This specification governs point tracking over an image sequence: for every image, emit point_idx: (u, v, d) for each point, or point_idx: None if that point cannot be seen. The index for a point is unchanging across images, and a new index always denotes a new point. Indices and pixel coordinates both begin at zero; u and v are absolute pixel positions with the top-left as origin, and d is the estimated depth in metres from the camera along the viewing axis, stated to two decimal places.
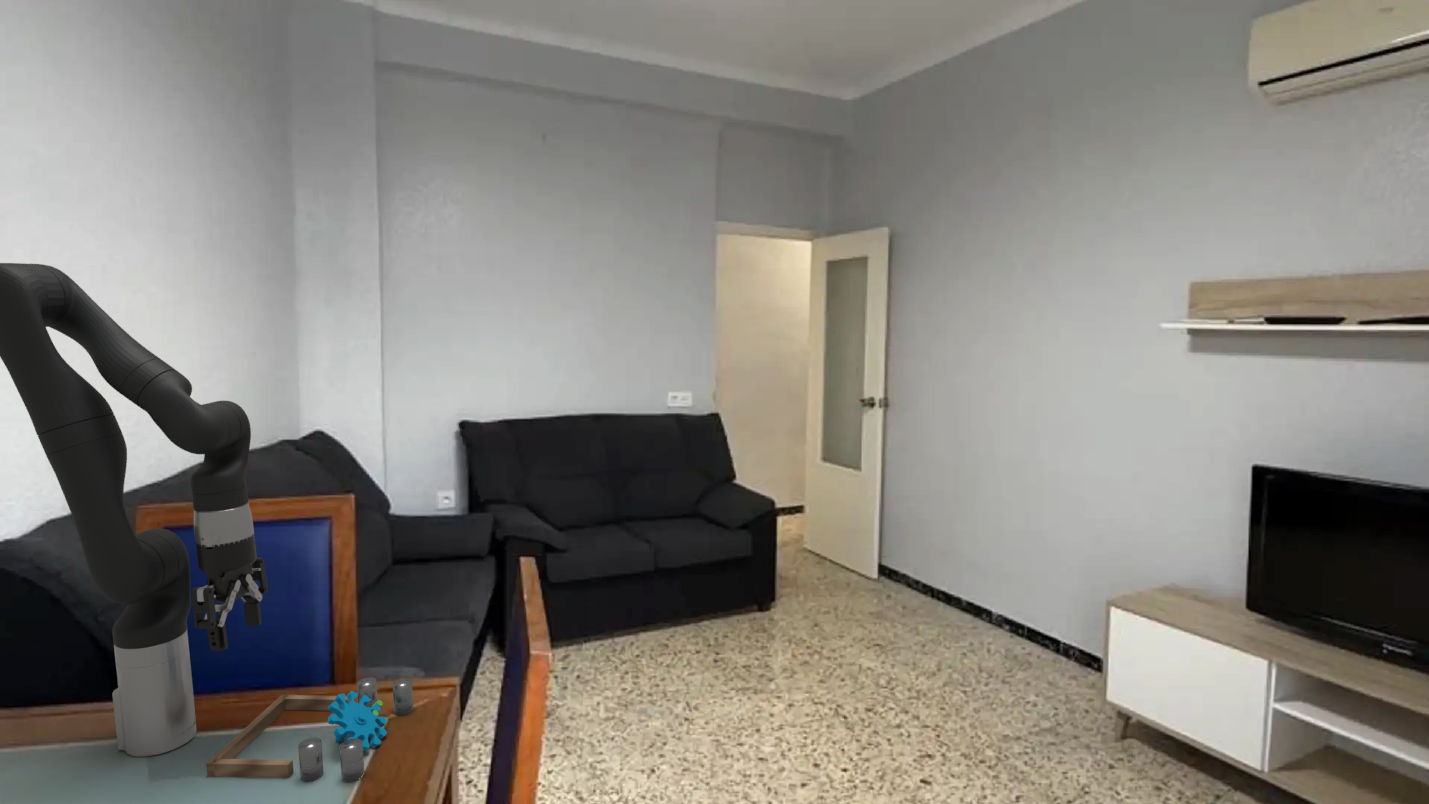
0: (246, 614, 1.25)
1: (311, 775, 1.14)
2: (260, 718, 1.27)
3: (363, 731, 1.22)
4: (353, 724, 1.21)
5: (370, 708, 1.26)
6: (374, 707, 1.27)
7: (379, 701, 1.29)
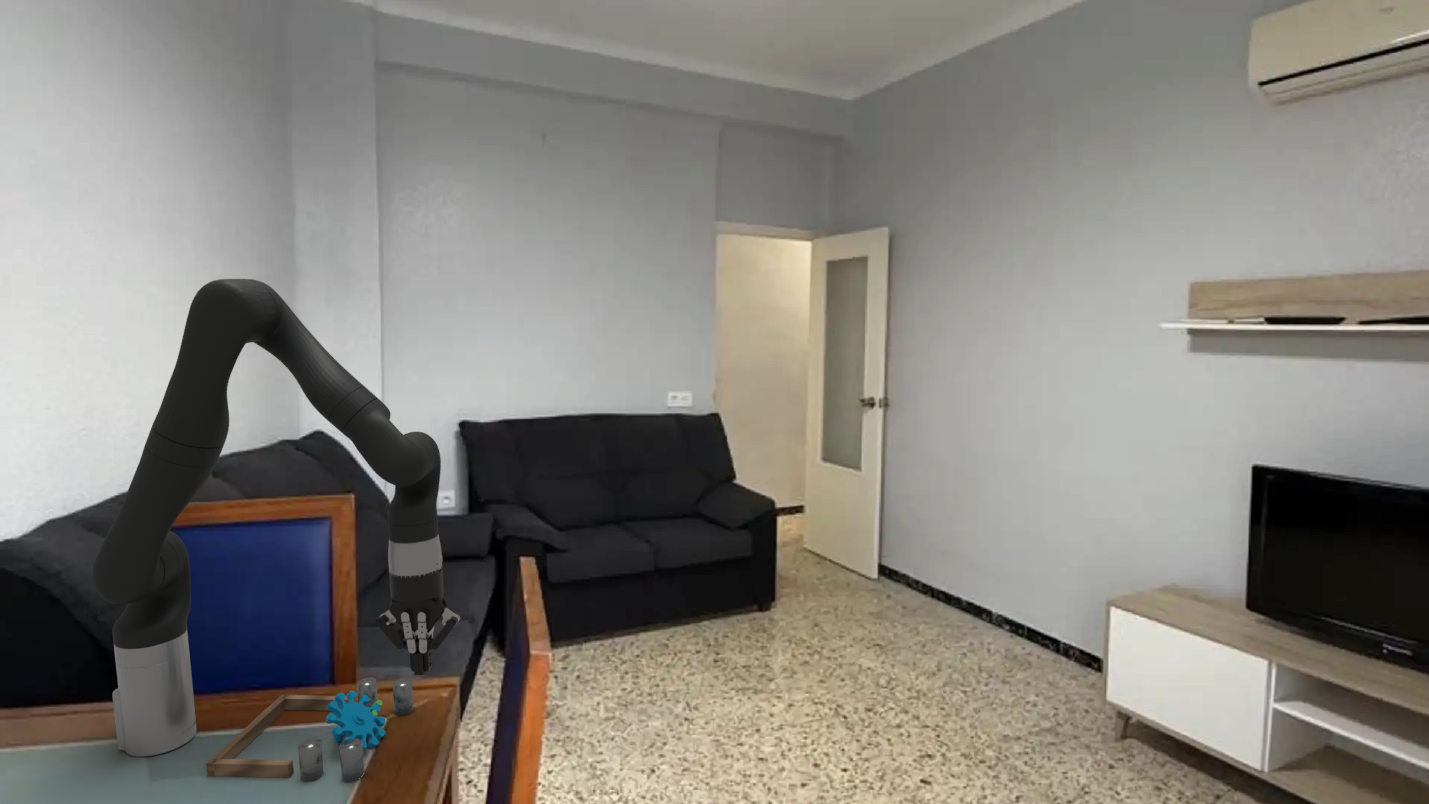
0: (418, 663, 1.21)
1: (311, 775, 1.14)
2: (260, 718, 1.27)
3: (361, 731, 1.22)
4: (351, 724, 1.21)
5: (369, 708, 1.26)
6: (373, 707, 1.27)
7: (379, 701, 1.29)
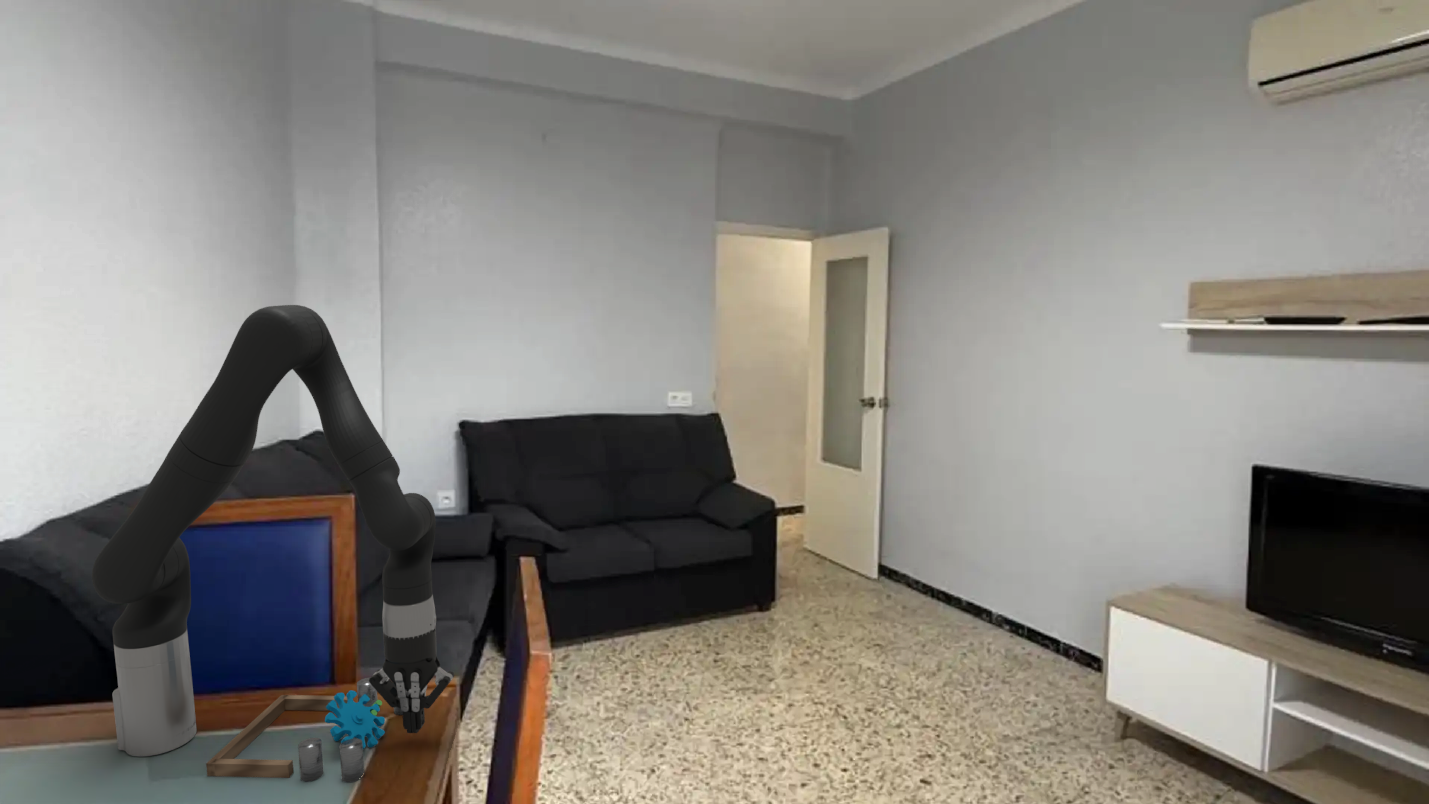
0: (411, 721, 1.23)
1: (311, 775, 1.14)
2: (260, 718, 1.27)
3: (360, 731, 1.22)
4: (350, 723, 1.22)
5: (369, 708, 1.26)
6: (373, 707, 1.27)
7: (379, 701, 1.29)
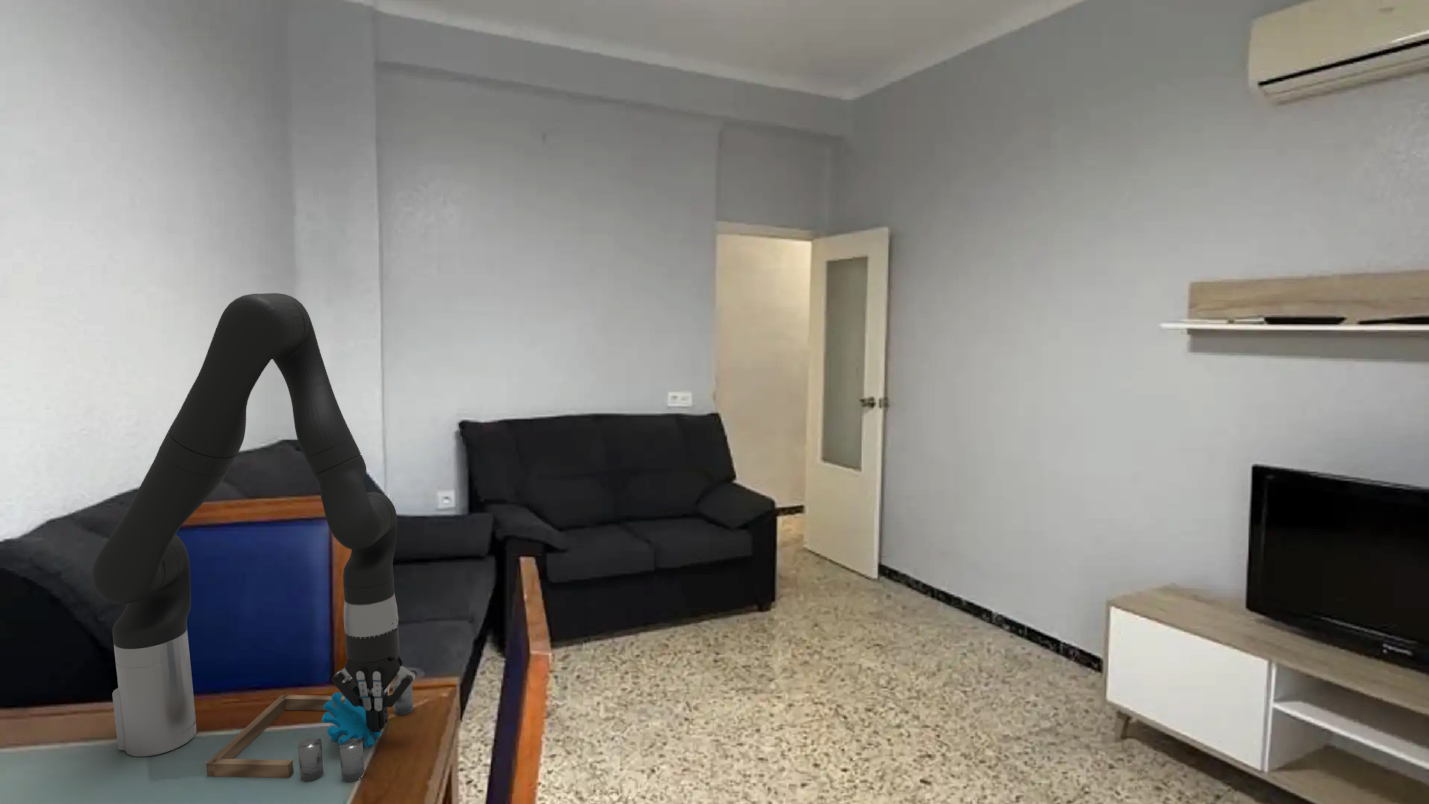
0: (374, 720, 1.23)
1: (311, 775, 1.14)
2: (260, 718, 1.27)
3: (357, 730, 1.22)
4: (347, 723, 1.22)
5: None
6: None
7: None
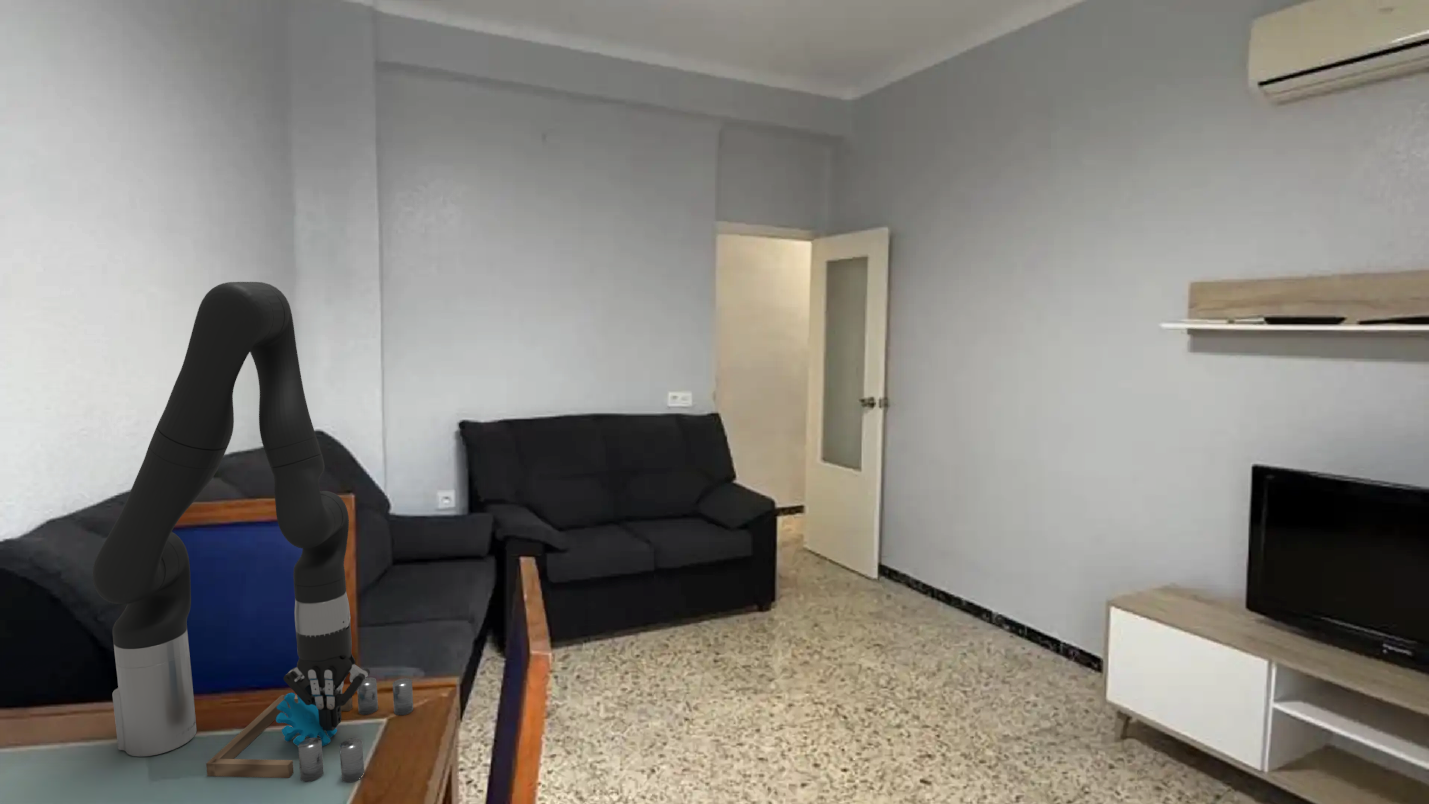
0: (327, 719, 1.23)
1: (311, 775, 1.14)
2: (260, 718, 1.27)
3: (312, 729, 1.22)
4: (302, 723, 1.22)
5: None
6: None
7: None
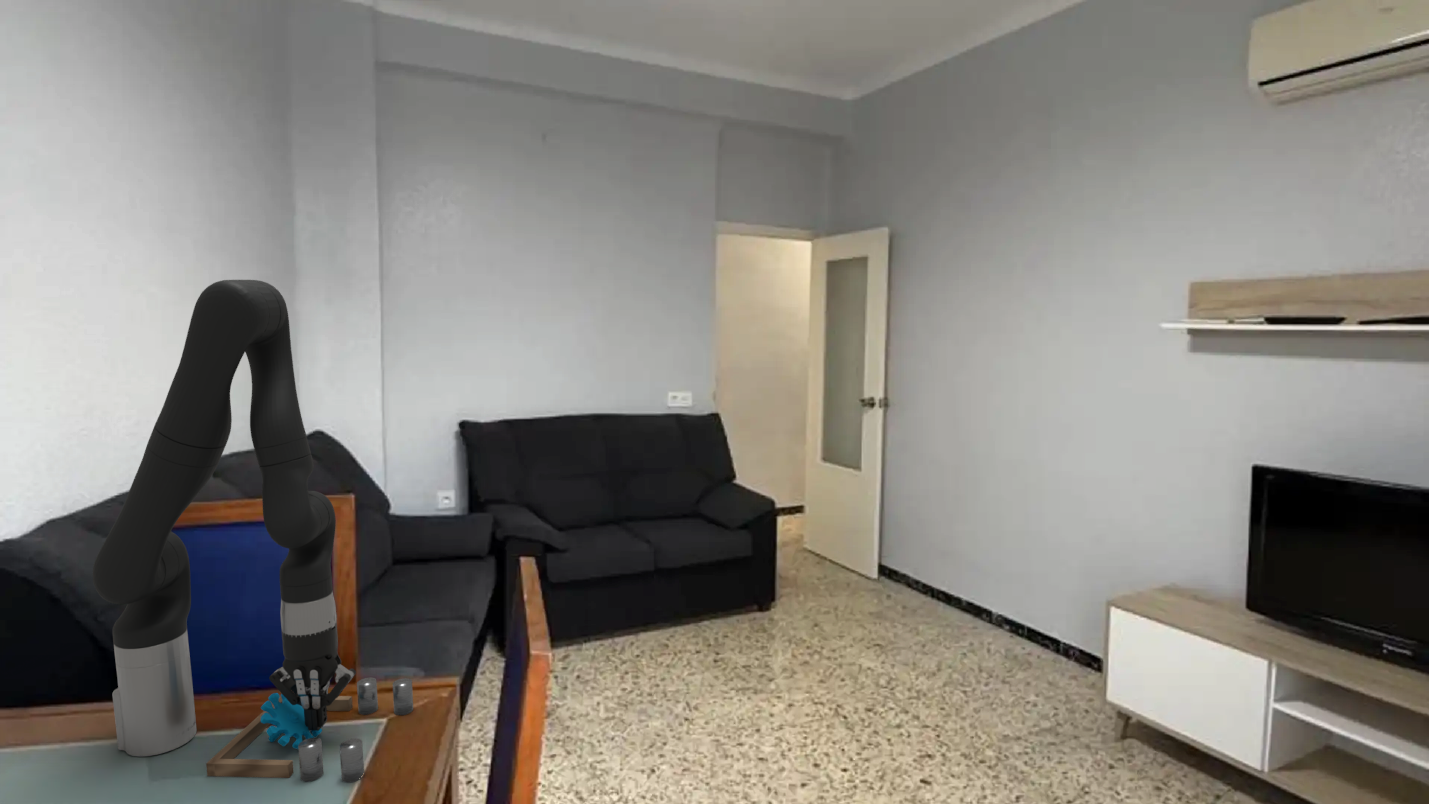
0: (312, 719, 1.23)
1: (311, 775, 1.14)
2: (260, 718, 1.27)
3: (297, 729, 1.22)
4: (287, 723, 1.22)
5: None
6: None
7: None
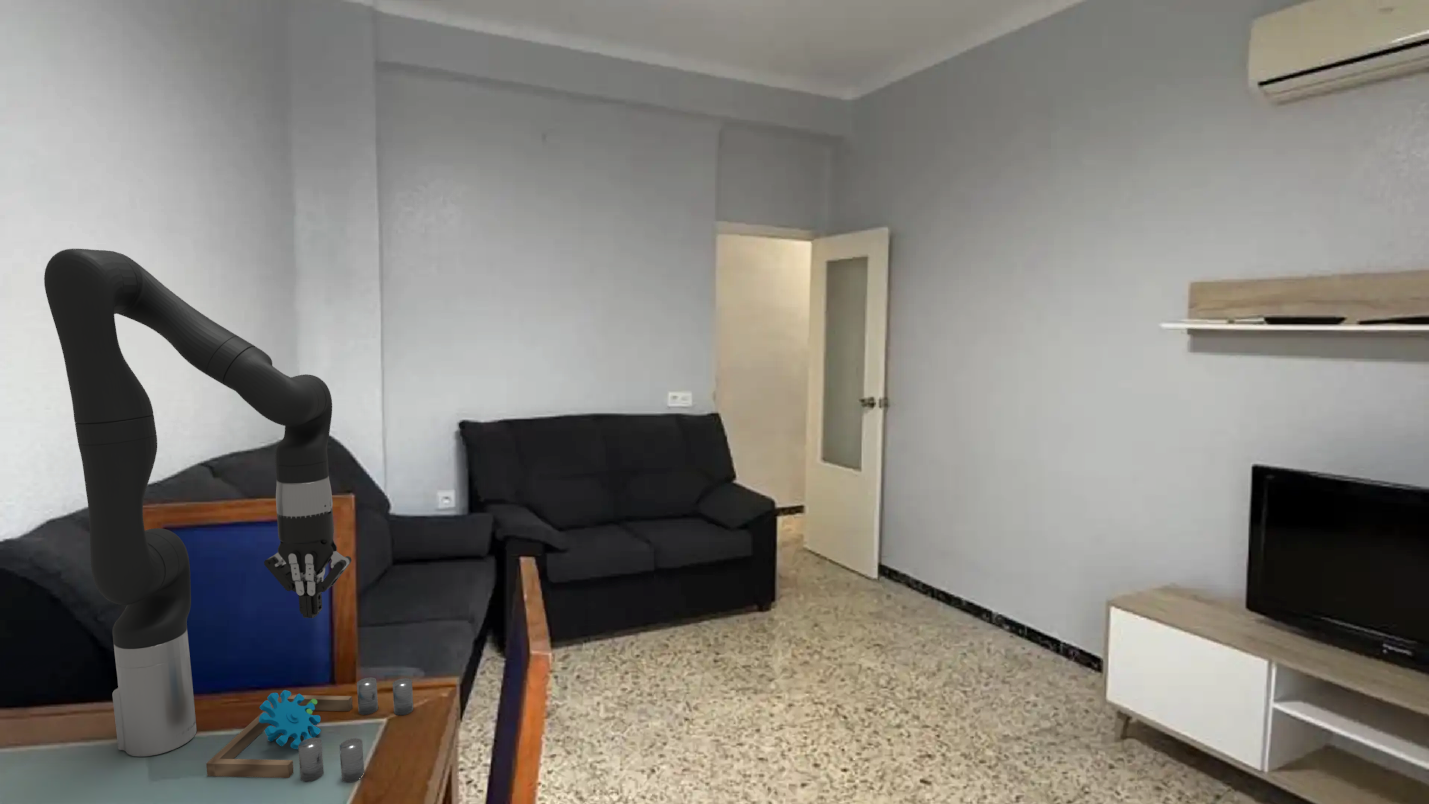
0: (307, 605, 1.22)
1: (311, 775, 1.14)
2: None
3: (295, 729, 1.22)
4: (285, 723, 1.22)
5: (304, 707, 1.26)
6: (308, 706, 1.27)
7: (314, 700, 1.29)
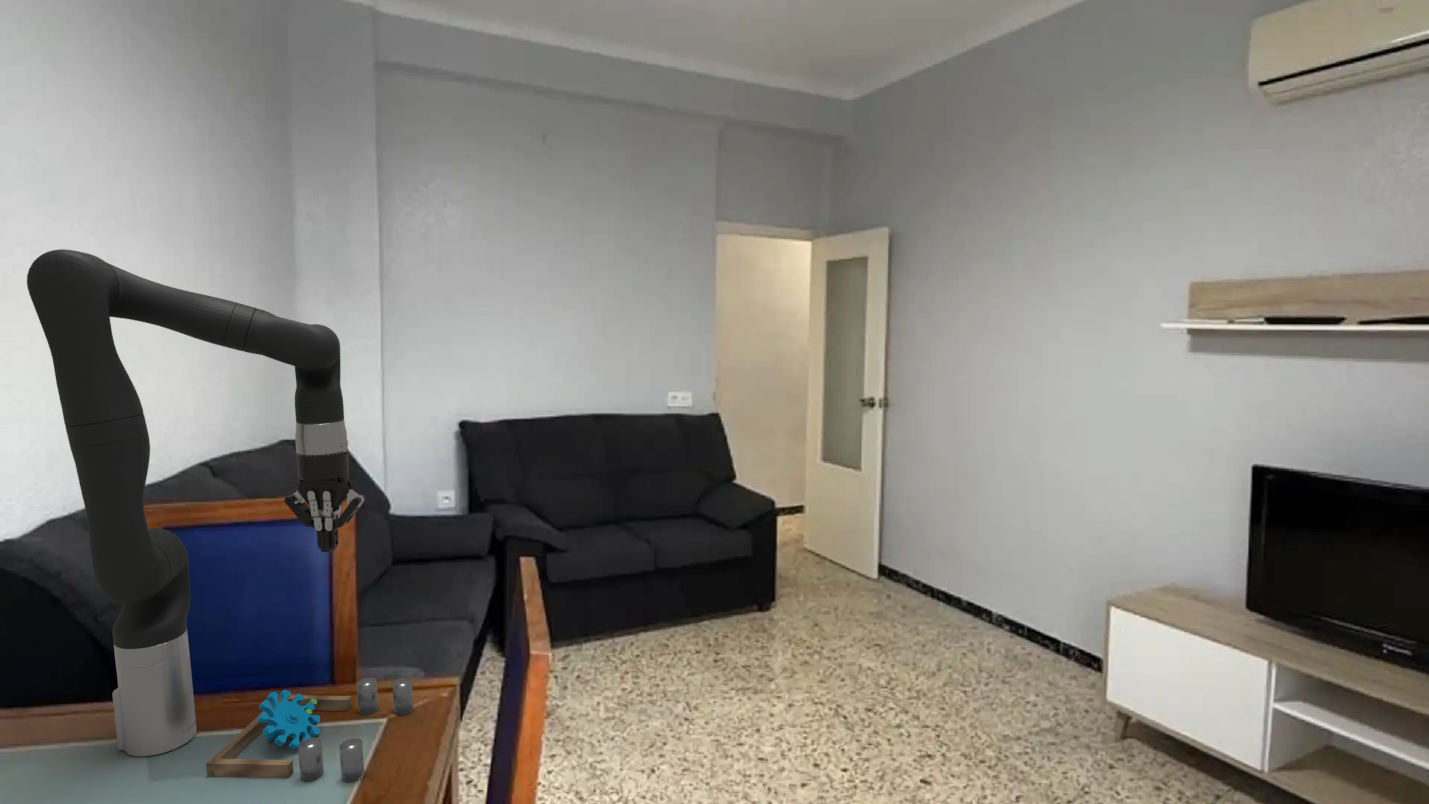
0: (325, 540, 1.30)
1: (311, 775, 1.14)
2: None
3: (294, 729, 1.22)
4: (284, 722, 1.22)
5: (303, 706, 1.27)
6: (308, 705, 1.27)
7: (313, 699, 1.29)
